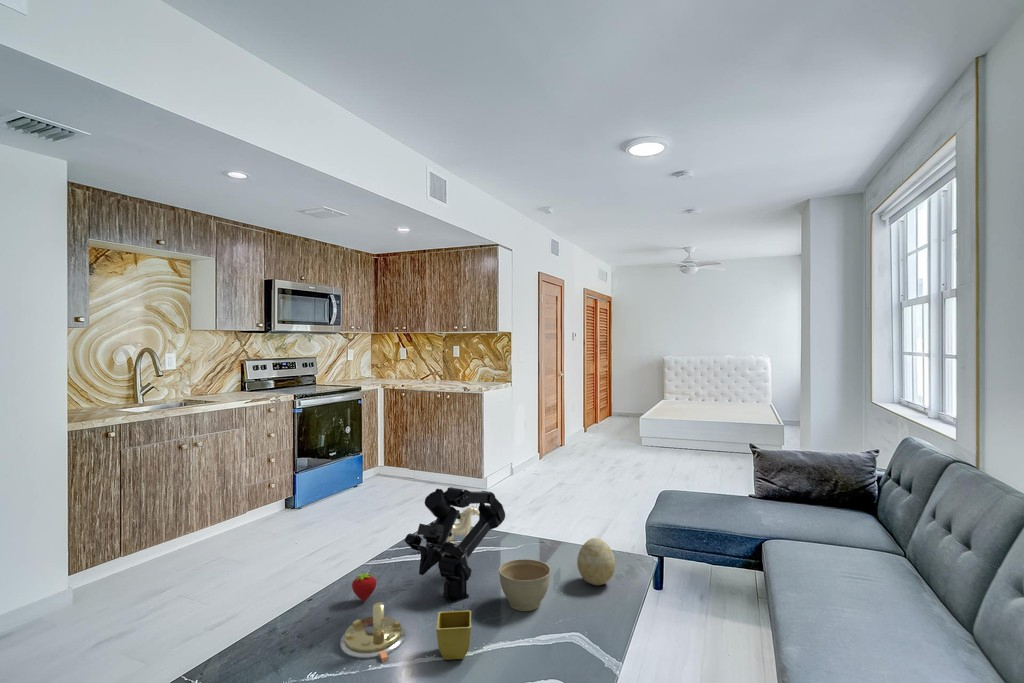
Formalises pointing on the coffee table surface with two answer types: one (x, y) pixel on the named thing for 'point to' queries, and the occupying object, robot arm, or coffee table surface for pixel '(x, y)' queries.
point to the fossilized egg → (596, 562)
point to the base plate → (375, 654)
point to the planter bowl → (524, 583)
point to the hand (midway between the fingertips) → (420, 574)
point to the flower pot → (454, 634)
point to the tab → (383, 656)
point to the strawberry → (364, 586)
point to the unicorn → (463, 523)
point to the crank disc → (383, 632)
